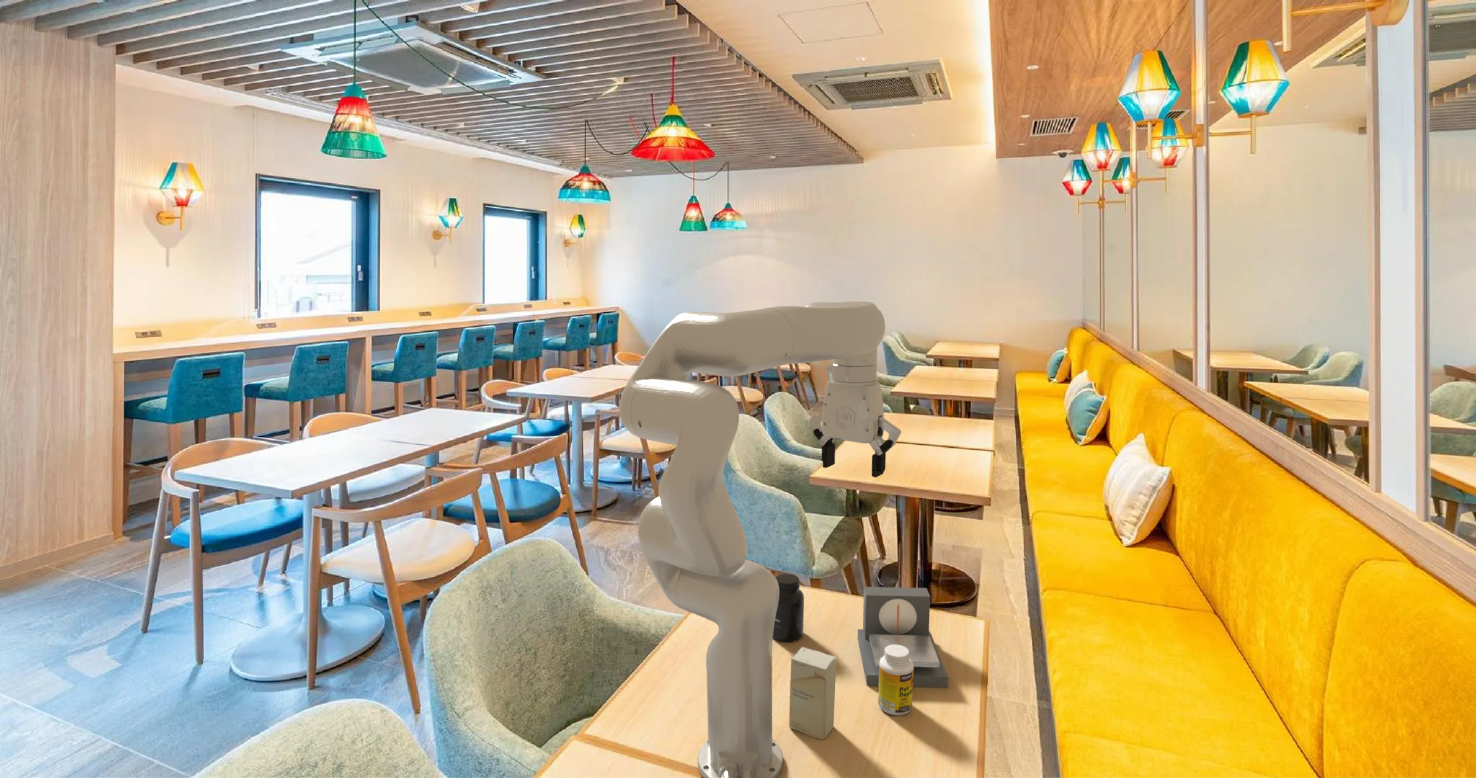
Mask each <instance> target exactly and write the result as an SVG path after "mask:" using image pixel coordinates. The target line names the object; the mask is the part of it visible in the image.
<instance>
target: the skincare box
mask: <svg viewBox="0 0 1476 778" xmlns="http://www.w3.org/2000/svg"><path fill="white" fill-rule="evenodd" d="M790 659H791V660H790V680H789V681H790V685H789V689H790V690H789V712H788V714H789V715H788V716H789V718H788V719H789V721H788V727H789V728H790V729H792V730H795V731H797V732H800V733H802V734H806V735H808V736H810V737H813V738H815V739H818V740H820V741H821V740H822V741H823V740H824V739H826V738H827V735H828V734H829V733H830V732H831V731H832V729H833V728H834V726H835V725H834V724H835V699H836V698H835V697H836V696H835V695H836V674H837V673H836V671H837V656H834V655H831V654H828V653H825V652H822V651H818V650H814V649H812V648H809V647H804V646H801V647H800V648H799V649H798V650H797V651H796V652H795V653H794V654H793V655H792V656H791V658H790Z"/></svg>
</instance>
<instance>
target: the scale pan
mask: <svg viewBox="0 0 1476 778" xmlns="http://www.w3.org/2000/svg"><path fill="white" fill-rule="evenodd" d="M870 644H871V648H872V652H873V657H874V661H875V665H876V666H879V663H880V659H881V658H882V657H883V656H884V654H885V648H886V647H887V646H889V645H901V646H904V647H906V648H907V649H908V650H909V657H910V658H909V659H910V660H911V661H912V662H913V665H914V667H939V660H938V657H937V654H936V652H935V649H934V647H933V644H932V642H931V639H930V637H929V636H918V635H875V634H870Z"/></svg>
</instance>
